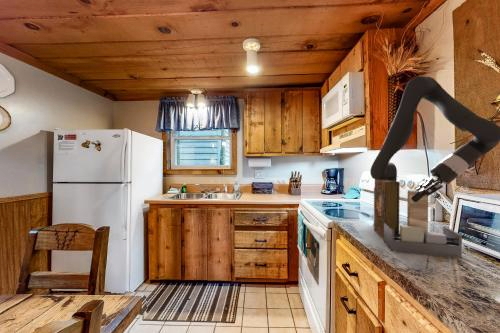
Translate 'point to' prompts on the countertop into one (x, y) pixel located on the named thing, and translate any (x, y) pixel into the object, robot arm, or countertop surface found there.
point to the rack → (425, 244)
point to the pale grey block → (434, 238)
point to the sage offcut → (411, 234)
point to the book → (386, 205)
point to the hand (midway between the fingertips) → (411, 199)
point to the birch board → (417, 211)
